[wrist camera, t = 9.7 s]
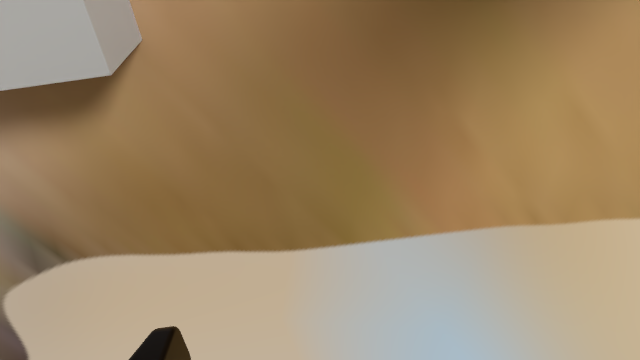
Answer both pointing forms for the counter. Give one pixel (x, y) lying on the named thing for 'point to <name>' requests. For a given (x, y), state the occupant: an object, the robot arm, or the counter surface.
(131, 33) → the grey brick
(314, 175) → the counter surface
